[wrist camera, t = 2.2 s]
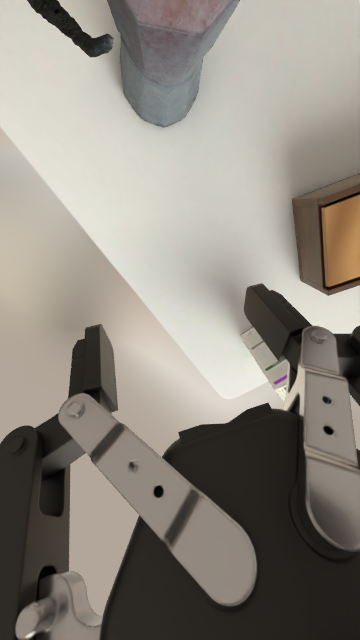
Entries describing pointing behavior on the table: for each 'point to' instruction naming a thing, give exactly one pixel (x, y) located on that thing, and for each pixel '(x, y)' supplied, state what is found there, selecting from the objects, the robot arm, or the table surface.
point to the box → (319, 232)
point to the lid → (341, 240)
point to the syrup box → (267, 361)
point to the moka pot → (153, 48)
